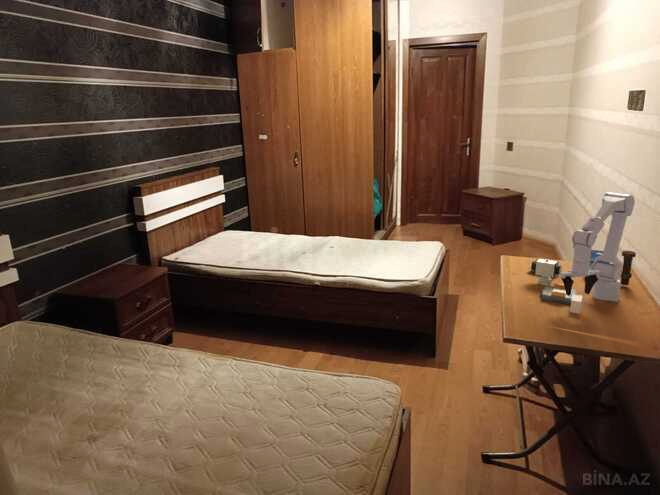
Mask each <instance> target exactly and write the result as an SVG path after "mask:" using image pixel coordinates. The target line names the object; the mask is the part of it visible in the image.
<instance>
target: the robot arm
mask: <svg viewBox="0 0 660 495" xmlns="http://www.w3.org/2000/svg"><path fill="white" fill-rule="evenodd" d="M635 203H636V202H635V197H634V195H633V194H625V193H619V192H618V193H617V192H610V191H608V192H607V191H606V193H605V194H603V196H602V199H601V207H600V208H599V209H598V210H597V213H596V214H595V215H594V216H590V217H589V218H588V220H587V221H586V222H585V223H584V225H583V226H582V227H581V228H580V229H577V230H575V231H574V232H573V235H572V237H571V242H572V248H573V257H572V264H571V265H572V268H571V270H566V271H561V273H560V275H559V277H560V278H561V281H562V284H564V286H565V291H566V294H567V295H568V296H570V295H571V289H573V285H574V282H575V280H574V279H573V278H582V277H584V291H583V292H584V294H587V295H590V293H591V291H592V289H593V293H592V297H593V298H594V299H597V300H601V301H610V302H619V299H620V298H621V297H620V296H621V292H620V291H621V285H622V284H621V277H620V276H621V274H622V268H623V261H622V260H620V259H619V257H618V252H619V248H620V244H621V242H622V241H621V240H622V236H623V233H624V229H625V226H626V222H627V218H628V217H630V216H632V214H633V211H634V207H635ZM610 216H611V220H610V224H609V229H608V233H607V236H606V241H605V245H604V247H603V250H602V251H603V253H601V254H600V256H598V257H596V258H595V261H594V263H593V265H592V267H591V270H589V264H590V256H591V250H592V247H593V246H594V245H595V243H596V241H597V238H598V234H599V233H600V232H601V230H602V229H603V228H604V227H605V221H606V220H607V219H608V218H609V217H610ZM602 261H606V262H610V263H605V262H602ZM619 279H620V280H619Z"/></svg>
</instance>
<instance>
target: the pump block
mask: <svg viewBox="0 0 660 495" xmlns="http://www.w3.org/2000/svg"><path fill="white" fill-rule="evenodd" d="M582 302H583V295H581V294H576V295H574V294H573V295H572V300H571V304H570V309H569V310H570V311H569V312H570V313H574V314H579V315H580V314H581V310H582Z"/></svg>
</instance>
